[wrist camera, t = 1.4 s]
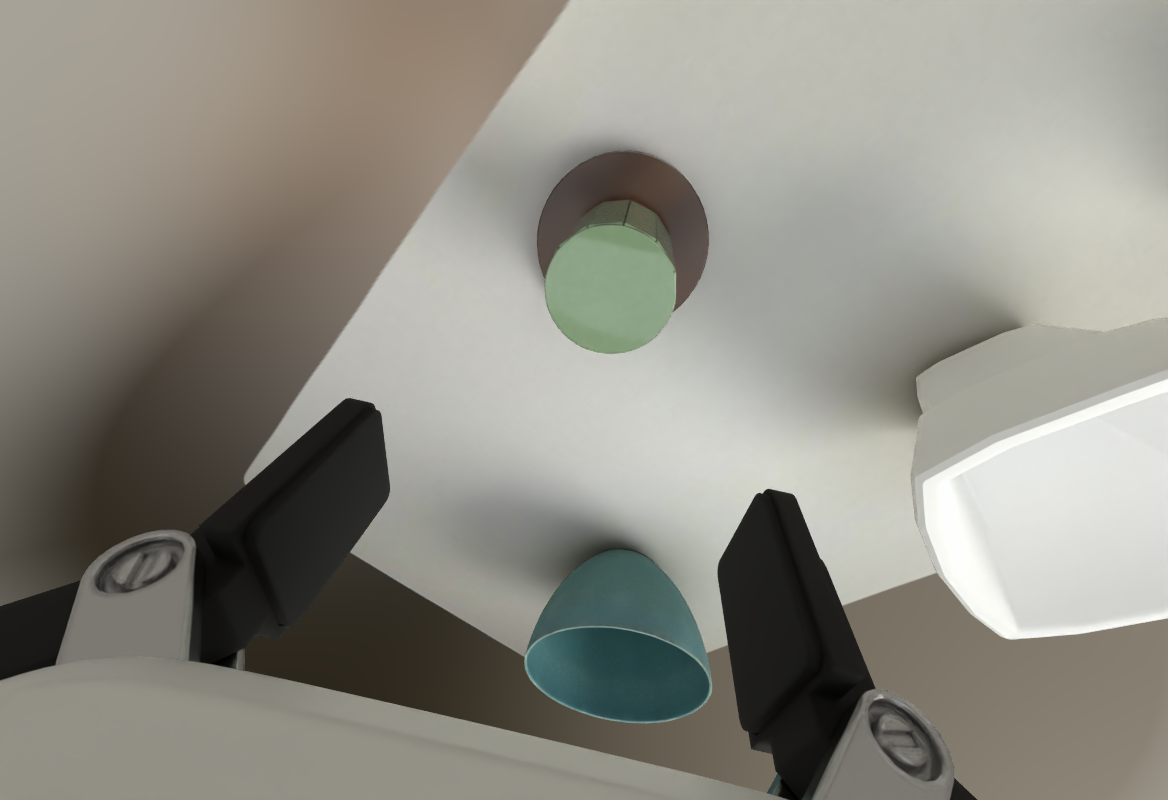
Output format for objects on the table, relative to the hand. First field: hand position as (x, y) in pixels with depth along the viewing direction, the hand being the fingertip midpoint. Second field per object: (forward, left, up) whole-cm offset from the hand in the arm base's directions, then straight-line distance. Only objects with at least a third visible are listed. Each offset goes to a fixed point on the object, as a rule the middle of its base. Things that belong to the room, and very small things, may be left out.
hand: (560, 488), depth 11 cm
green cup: (0, 0, -22) cm, 22 cm away
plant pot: (+32, -20, -25) cm, 45 cm away
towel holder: (0, 0, -25) cm, 25 cm away
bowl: (+24, +18, -25) cm, 39 cm away
